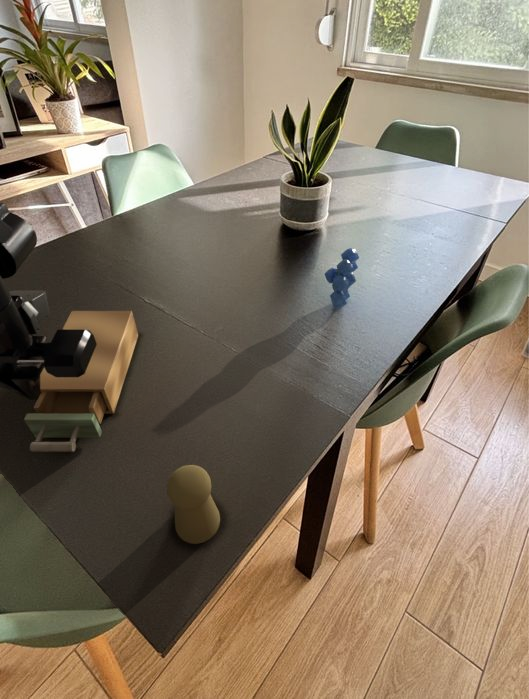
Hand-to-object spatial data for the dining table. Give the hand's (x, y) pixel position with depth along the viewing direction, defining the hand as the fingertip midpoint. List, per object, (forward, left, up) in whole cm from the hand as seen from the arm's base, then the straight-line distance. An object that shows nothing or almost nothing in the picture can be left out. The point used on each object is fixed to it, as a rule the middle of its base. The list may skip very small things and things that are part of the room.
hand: (36, 397), depth 56 cm
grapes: (+58, -14, -13) cm, 61 cm away
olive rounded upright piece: (+4, -24, -13) cm, 27 cm away
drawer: (+7, +5, -12) cm, 14 cm away
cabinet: (+13, +10, -12) cm, 21 cm away
